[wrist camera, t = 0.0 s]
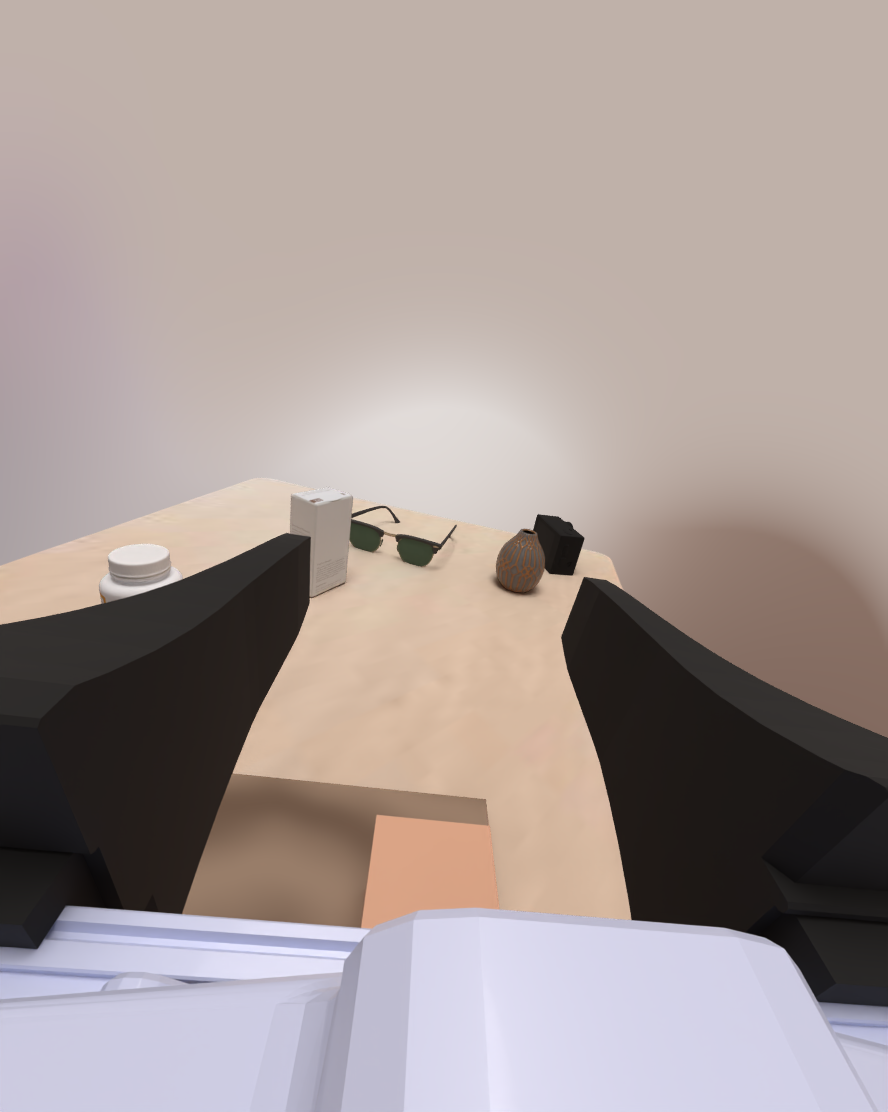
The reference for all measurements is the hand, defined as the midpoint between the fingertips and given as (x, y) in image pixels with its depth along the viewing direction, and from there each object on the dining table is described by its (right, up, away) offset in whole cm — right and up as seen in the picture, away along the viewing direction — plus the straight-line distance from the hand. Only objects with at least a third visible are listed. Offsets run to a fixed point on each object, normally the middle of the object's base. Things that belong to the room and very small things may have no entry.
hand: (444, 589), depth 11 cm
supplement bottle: (-26, -8, +26) cm, 38 cm away
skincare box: (-16, -3, +42) cm, 45 cm away
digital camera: (+19, 0, +64) cm, 66 cm away
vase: (+11, -4, +52) cm, 53 cm away
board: (-6, -19, +8) cm, 22 cm away
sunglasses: (-6, +3, +61) cm, 61 cm away
